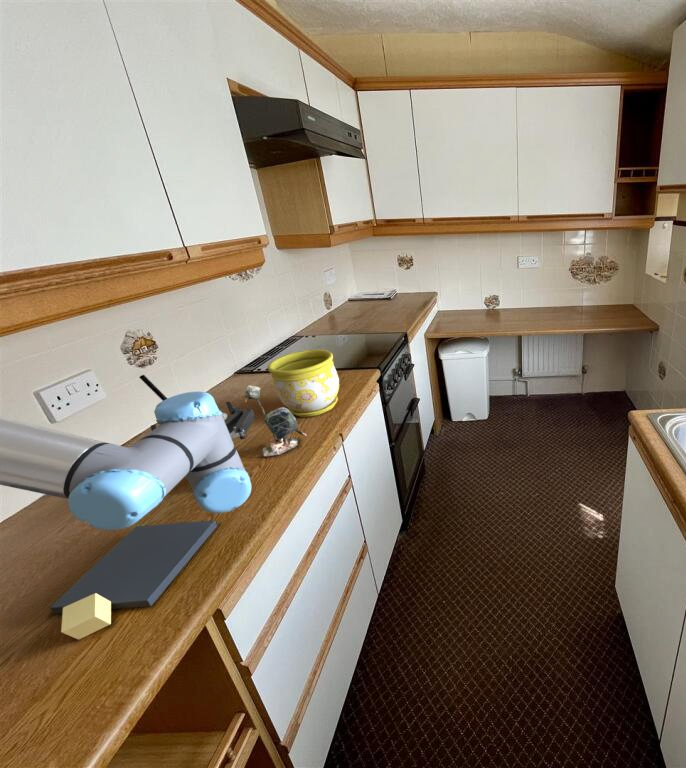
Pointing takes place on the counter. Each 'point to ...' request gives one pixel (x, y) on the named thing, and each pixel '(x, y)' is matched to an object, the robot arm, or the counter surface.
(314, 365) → the flowerpot
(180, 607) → the counter surface
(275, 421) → the decorative sculpture
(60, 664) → the counter surface
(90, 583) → the tray
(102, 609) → the pale yellow cube
